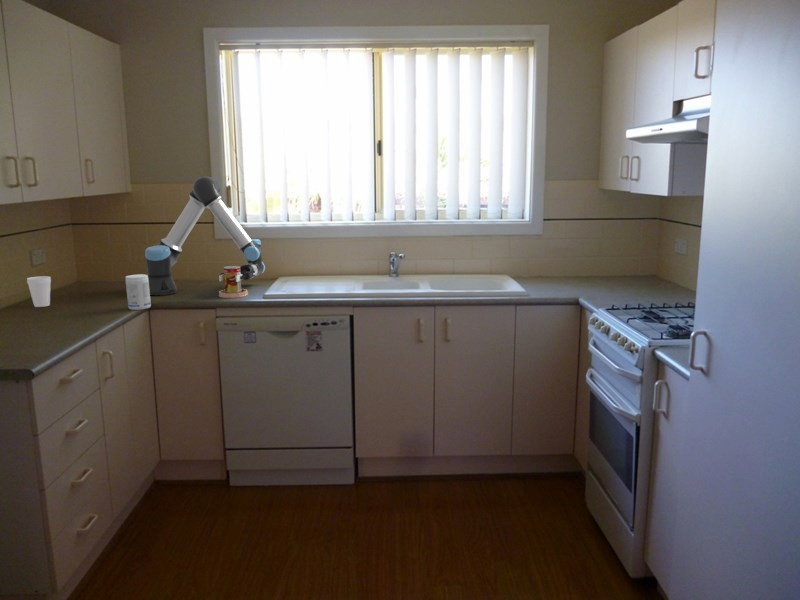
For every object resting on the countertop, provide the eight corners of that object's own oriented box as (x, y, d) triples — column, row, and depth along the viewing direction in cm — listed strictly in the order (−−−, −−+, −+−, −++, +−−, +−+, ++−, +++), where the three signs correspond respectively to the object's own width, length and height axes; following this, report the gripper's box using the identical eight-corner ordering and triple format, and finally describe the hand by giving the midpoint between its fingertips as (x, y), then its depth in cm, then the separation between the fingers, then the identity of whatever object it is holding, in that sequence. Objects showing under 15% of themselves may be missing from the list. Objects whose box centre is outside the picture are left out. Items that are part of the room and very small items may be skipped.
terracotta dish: (213, 297, 317) (213, 293, 317) (226, 292, 330) (226, 288, 330) (240, 298, 314) (240, 294, 314) (252, 292, 328) (252, 288, 327)
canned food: (226, 290, 326) (225, 266, 323) (242, 289, 326) (241, 265, 324) (223, 292, 318) (222, 268, 316) (240, 292, 319) (238, 268, 316)
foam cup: (28, 305, 303) (25, 277, 300) (50, 302, 309) (47, 275, 306) (33, 308, 296) (29, 280, 293) (55, 305, 301) (52, 277, 299)
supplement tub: (147, 305, 301) (144, 273, 298) (154, 308, 293) (151, 275, 291) (125, 307, 295) (122, 275, 292) (132, 311, 287) (129, 278, 285)
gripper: (266, 279, 337) (248, 286, 315) (229, 278, 341) (208, 285, 319) (266, 264, 335) (247, 271, 313) (228, 264, 339) (207, 270, 317)
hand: (228, 278), depth 316 cm, fingers closed on canned food, 8 cm apart
